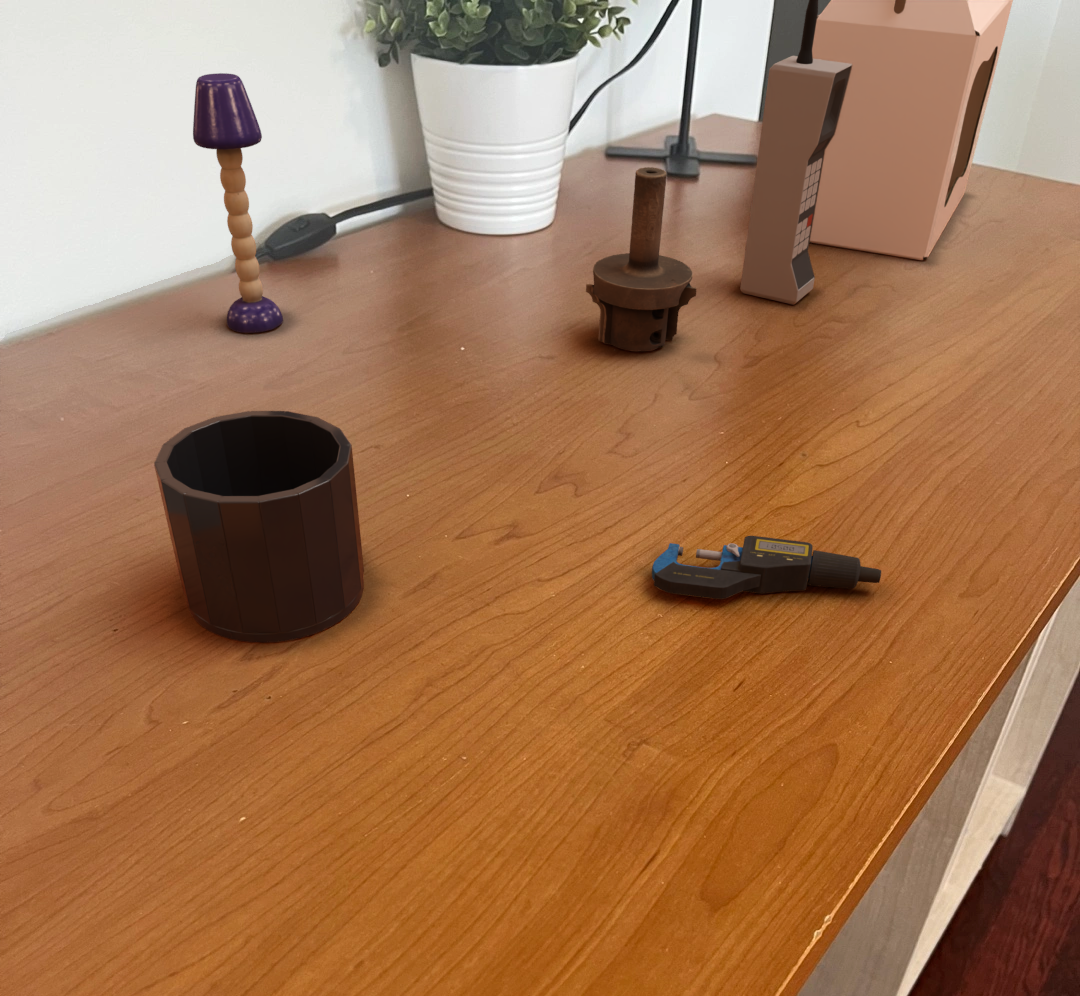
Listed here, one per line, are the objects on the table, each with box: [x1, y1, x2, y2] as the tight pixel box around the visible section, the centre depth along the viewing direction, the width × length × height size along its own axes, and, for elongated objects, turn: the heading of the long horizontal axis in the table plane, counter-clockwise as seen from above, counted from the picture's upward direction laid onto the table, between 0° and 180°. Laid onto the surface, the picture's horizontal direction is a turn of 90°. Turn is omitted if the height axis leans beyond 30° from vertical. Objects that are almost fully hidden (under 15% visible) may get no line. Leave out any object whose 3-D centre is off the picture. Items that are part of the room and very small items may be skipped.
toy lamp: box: [192, 72, 284, 334], centre depth 81 cm, size 5×5×17 cm
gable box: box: [810, 0, 1014, 261], centre depth 100 cm, size 22×13×28 cm, turn 156°
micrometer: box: [651, 535, 882, 600], centre depth 60 cm, size 12×2×5 cm
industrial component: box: [585, 166, 698, 352], centre depth 81 cm, size 9×7×12 cm
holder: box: [153, 410, 365, 644], centre depth 57 cm, size 9×9×8 cm
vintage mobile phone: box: [739, 0, 852, 305], centre depth 85 cm, size 4×5×25 cm
